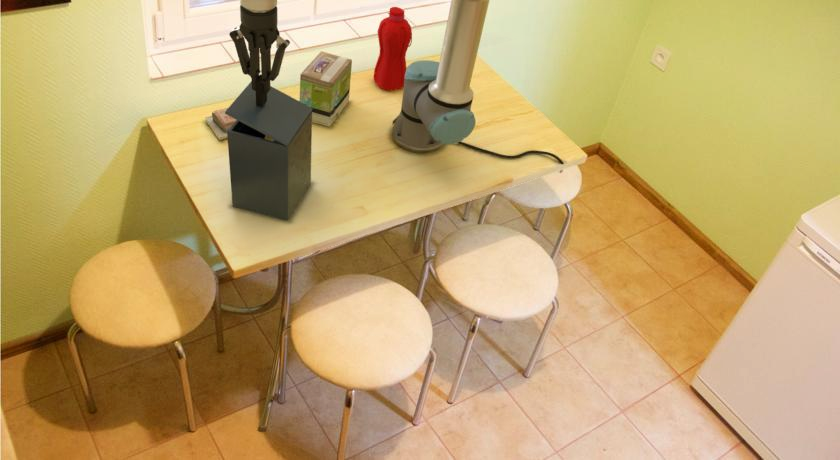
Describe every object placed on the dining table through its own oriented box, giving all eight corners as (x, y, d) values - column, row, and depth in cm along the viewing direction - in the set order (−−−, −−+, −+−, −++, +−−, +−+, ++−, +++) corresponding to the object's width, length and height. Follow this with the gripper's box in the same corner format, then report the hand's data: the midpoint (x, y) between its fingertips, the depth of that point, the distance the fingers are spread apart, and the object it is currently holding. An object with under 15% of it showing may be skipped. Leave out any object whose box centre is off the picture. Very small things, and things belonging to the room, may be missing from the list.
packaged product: (264, 92, 206) (280, 110, 201) (264, 107, 210) (280, 125, 204) (203, 107, 198) (218, 126, 192) (205, 122, 201) (219, 141, 195)
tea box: (330, 128, 206) (332, 82, 196) (298, 119, 207) (298, 73, 197) (349, 102, 217) (352, 58, 207) (318, 93, 218) (319, 49, 208)
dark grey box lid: (224, 113, 159) (225, 110, 158) (253, 79, 170) (254, 77, 170) (287, 146, 160) (288, 143, 160) (311, 110, 172) (312, 108, 171)
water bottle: (414, 87, 227) (424, 13, 210) (384, 94, 222) (391, 18, 205) (399, 73, 233) (407, -1, 216) (369, 79, 228) (375, 4, 211)
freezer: (232, 206, 177) (226, 131, 162) (258, 170, 188) (255, 97, 173) (288, 221, 175) (287, 146, 160) (310, 183, 187) (312, 111, 172)
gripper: (295, 4, 150) (295, 101, 166) (236, -9, 152) (241, 88, 168) (281, 19, 145) (282, 118, 161) (220, 5, 146) (227, 104, 162)
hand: (261, 103), depth 164 cm, fingers closed
